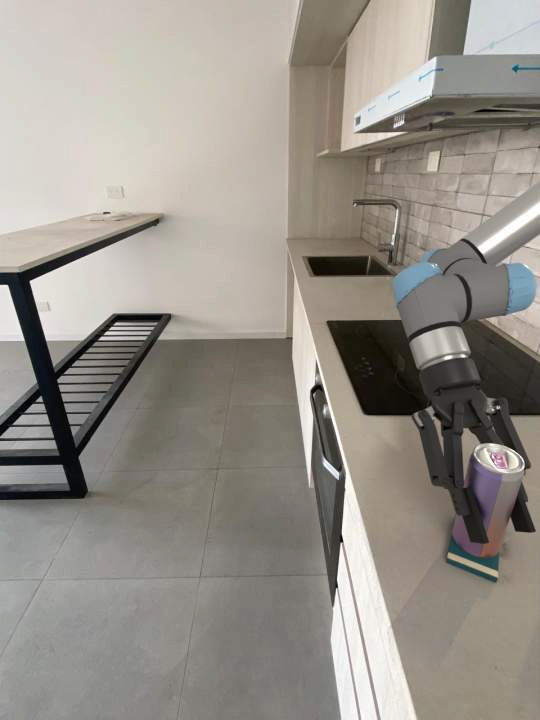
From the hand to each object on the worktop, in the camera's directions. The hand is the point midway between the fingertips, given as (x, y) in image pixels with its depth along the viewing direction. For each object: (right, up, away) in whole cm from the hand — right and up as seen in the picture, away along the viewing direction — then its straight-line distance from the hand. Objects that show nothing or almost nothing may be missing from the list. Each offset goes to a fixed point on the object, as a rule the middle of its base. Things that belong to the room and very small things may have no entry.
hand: (502, 536), depth 49 cm
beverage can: (-1, -4, +6) cm, 7 cm away
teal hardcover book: (-1, -4, +6) cm, 7 cm away
